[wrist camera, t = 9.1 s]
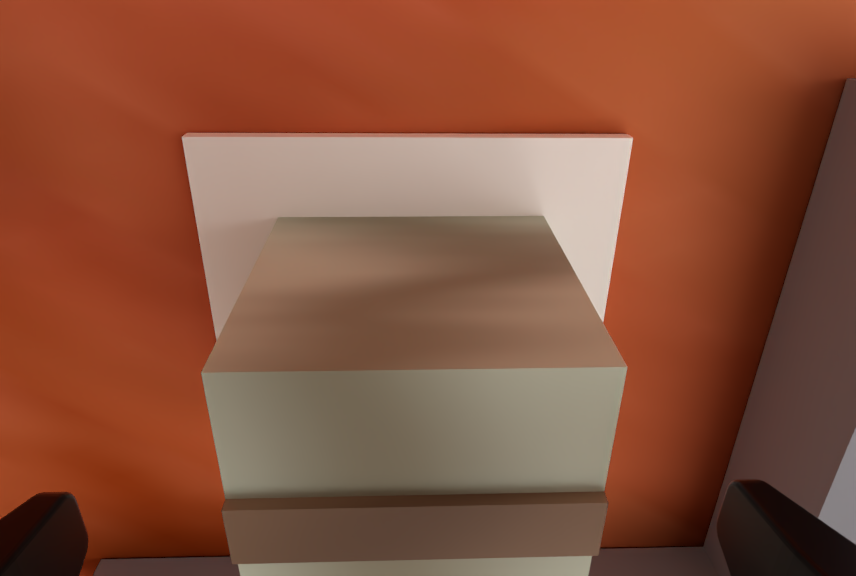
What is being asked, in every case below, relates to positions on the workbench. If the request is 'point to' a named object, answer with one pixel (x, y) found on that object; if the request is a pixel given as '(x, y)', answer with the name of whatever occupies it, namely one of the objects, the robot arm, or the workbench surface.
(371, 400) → the cube
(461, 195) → the l-shaped corner bracket
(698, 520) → the workbench surface
